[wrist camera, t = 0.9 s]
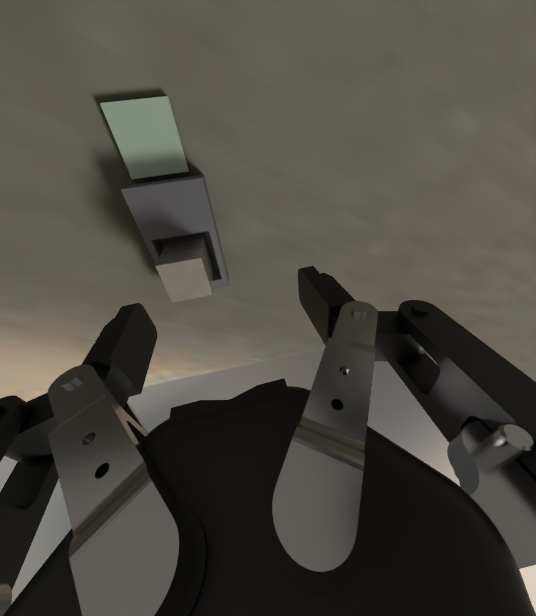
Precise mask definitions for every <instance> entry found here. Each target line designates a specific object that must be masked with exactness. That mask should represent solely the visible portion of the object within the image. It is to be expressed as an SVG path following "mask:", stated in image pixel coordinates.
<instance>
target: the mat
mask: <svg viewBox="0 0 536 616" xmlns="http://www.w3.org/2000/svg"><path fill="white" fill-rule="evenodd" d="M100 105H101V107H102V110H103V112H104V115H105V117H106V119H107V122H108V124H109V126H110V129H111V131H112V133H113V136H114V138H115V141H116V143H117V145H118V148H119V150H120V152H121V155H122V157H123V160H124V162H125V164H126V167H127V169H128V171H129V174H130V176H131V178H132V179H138V178H145V177H152V176H159V175H166V174H174V173H181V172H188V171H189V170H188V166H187V162H186V159H185V155H184V151H183V148H182V144H181V141H180V137H179V133H178V130H177V126H176V122H175V119H174V115H173V112H172V108H171V104H170V101H169V97H168V96H163V97H154V98H144V99H134V100H125V101H115V102H105V103H100Z"/></svg>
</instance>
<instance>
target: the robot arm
mask: <svg viewBox="0 0 536 616" xmlns="http://www.w3.org/2000/svg"><path fill="white" fill-rule="evenodd" d="M298 286H299V298H300V302H301V304H302V306H303V308H304V310H305V311H306V313H307V315H308V316H309V318H310V320H311V322H312V323H313V325H314V327H315V328H316V330H317V332H318V333H319V335H320V337H321V339H322V340H323V342H324V344H325V345H326V347H325V350H324V353H323V356H322V359H321V362H320V365H319V368H318V371H317V374H316V377H315V380H314V383H313V386H312V389H311V391H310V390H307V389H304V388H300V387H287V385H286V382H285V379H280V380H276V381H272V382H268V383H265V384H261V385H257V386H255V387H253V388H252V389H250V390H248V391H246V392H244V393H242V394H240V395H238V396H236V397H234V398H233V399H230V400H200V401H196V402H192V403H188V404H185V405H181V406H177V407H173V408H171V412H170V419H168V420H166V421H165V422H163V423H162V424H160V425H158V426H157V427H156V428H155V429H153V430H152V431H151V432H150V433H149V432H148V431H147V430H146V428H145V427H144V425H143V424H142V422H141V421H140V419H139V418H138V416H137V415H136V413H135V412H134V410H133V409H132V407H131V406H130V405H129V404H128V403H127V401H128V397H130V396H134V395H137V394H141V392H142V388H143V385H144V381H145V378H146V374H147V371H148V367H149V364H150V361H151V357H152V354H153V350H154V347H155V343H156V340H157V331H156V328H155V325H154V324H153V322H152V320H151V319H150V317H149V315H148V314H147V312H146V310H145V309H144V307H143V306H142V304H140V303H136V304H131V305H127V306H122V307H121V308H120V310H119V312H118V314H117V315H116V317H115V318H114V319H112V320H111V321H110V322H109V323H108V324H107V325H106V326H105V327H104V328H103V330H102V332H101V333H100V336H99V337H98V338H97V340H96V343H94V345H93V346H92V348H91V350H90V351H89V353H88V355H87V356H86V358H85V360H84V361H83V363H82V365H80V366H77V367H74V368H72V369H70V370H68V371H66V372H65V373H63V374H62V375H61V376H59V377H58V378H57V379H56V380H55V381H54V382H53V383H52V384H51V386H50V387H49V390H48V393H46V394H44V395H41V396H39V397H37V398H35V399H32V400H30V401H28V402H25V401H24V400H22V399H21V398H19V397H17V396H7V397H4V398H1V399H0V461H1V460H2V458H3V457H4V455H5V456H7V457H9V458H11V459H14V460H16V461H18V462H17V464H16V466H15V467H14V469H13V471H12V473H11V475H10V476H9V478H8V480H7V482H6V483H5V485H4V487H3V488H2V490H1V492H0V616H536V613H535V611H534V609H533V606H532V604H531V601H530V599H529V596H528V593H527V590H526V587H525V584H524V582H523V579H522V576H521V574H520V571H519V569H520V568H524V567H528V566H532V565H535V564H536V382H535V381H533V380H532V379H531V378H529V377H528V376H527V375H526V374H524V373H523V372H522V371H520V370H519V369H518V368H516V367H515V366H514V365H512V364H511V363H510V362H508V361H507V360H506V359H504V358H503V357H502V356H501V355H499V354H498V353H497V352H495V351H494V350H493V349H491V348H490V347H489V346H487V345H486V344H485V343H483V342H482V341H481V340H479V339H478V338H477V337H476V336H474V335H473V334H472V333H470V332H469V331H468V330H466V329H465V328H464V327H462V326H461V325H460V324H458V323H457V322H456V321H454V320H453V319H452V318H450V317H449V316H448V315H447V314H445V313H444V312H443V311H441V310H440V309H439V308H437V307H436V306H434V305H432V304H430V303H428V302H424V301H419V300H409V301H405V302H403V303H401V304H400V306H399V309H398V311H377V309H376V308H375V307H374V306H372V305H371V304H369V303H366V302H361V301H355V300H354V299H353V297H352V296H351V295H350V294H349V293H348V292H347V291H346V290H345V289H344V288H343V287H342V286H341V285H340V284H339V283H338V282H337V281H336V280H335V279H334V278H333V277H332V276H330V275H328V274H326V273H321V274H320V273H319V272H318V271H317V270H316V269H315V267H314V266H310V267H305V268H300V269H299V270H298ZM425 352H427V353H428V354H429V355H430V356H431V357H432V358H433V359H434V360H435V361H436V363H437V364H438V366H439V367H438V366H437V365H436V364H435V363H434V362H433V361H432V359H431V358H430V357H429V356H428V355H427V354H426V353H425ZM374 361H388V362H389V363H390V365H391V366H392V367H393V369H394V370H395V371H396V373H397V374H398V375H399V377H400V378H401V379H402V381H403V382H404V383H405V385H406V386H407V387H408V389H409V390H410V391H411V393H412V394H413V395H414V396H415V398H416V399H417V401H418V402H419V403H420V405H421V406H422V407H423V409H424V410H425V411H426V413H427V414H428V415H429V416H430V418H431V419H432V421H433V422H434V423H435V425H436V426H437V427H438V429H439V430H440V431H441V433H442V434H443V435H444V437H445V438H446V439H447V441H448V442H449V445H448V449H447V453H448V458H449V461H450V464H451V465H452V467H453V469H454V472H455V475H456V476H457V478H458V479H459V482H460V486H458V485H457V484H456V483H454V482H453V481H452V480H450V479H449V478H447V477H446V476H444V475H443V474H441V473H440V472H438V471H437V470H435V469H433V468H432V467H430V466H429V465H427V464H426V463H424V462H423V461H421V460H420V459H418V458H417V457H415V456H413V455H412V454H410V453H409V452H407V451H406V450H404V449H403V448H401V447H400V446H398V445H396V444H395V443H393V442H392V441H390V440H389V439H387V438H386V437H384V436H383V435H381V434H379V433H378V432H376V431H375V430H373V429H372V428H370V427H369V426H367V421H368V413H369V412H368V411H369V404H370V395H371V386H372V377H373V368H374ZM58 479H59V480H60V484H61V488H62V491H63V495H64V499H65V503H66V507H67V511H68V514H69V518H70V522H71V526H72V529H71V530H70V531H69V533H68V534H67V535H66V536H65V538H64V539H63V540H62V541H61V543H60V544H59V545H58V546H57V548H56V549H55V550H54V551H53V553H52V554H51V555H50V556H49V558H48V559H47V560H46V562H45V563H44V564H43V565H42V567H41V568H40V569H39V570H38V572H37V573H36V574H35V575H34V577H33V578H32V579H31V581H30V582H29V583H28V584H27V586H26V587H25V588H24V589H23V591H22V592H21V593H20V594H19V596H18V597H17V598H16V600H15V601H14V602H13V603H12V604H11V602H12V589H13V586H14V584H15V582H16V579H17V577H18V574H19V572H20V570H21V567H22V565H23V563H24V560H25V557H26V555H27V553H28V550H29V548H30V546H31V543H32V541H33V539H34V536H35V534H36V531H37V529H38V527H39V524H40V522H41V519H42V517H43V515H44V512H45V510H46V507H47V505H48V503H49V500H50V497H51V495H52V493H53V491H54V488H55V486H56V483H57V481H58Z"/></svg>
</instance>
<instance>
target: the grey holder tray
mask: <svg viewBox="0 0 536 616" xmlns="http://www.w3.org/2000/svg"><path fill="white" fill-rule="evenodd" d="M121 192H122V194H123V196H124V198H125V200H126V202H127V205H128V207H129V209H130V211H131V213H132V215H133V218H134V220H135V222H136V224H137V226H138V228H139V231H140V233H141V235H142V237H143V239H144V241H145V244H146V246H147V248H148V250H149V252H150V254H151V257H152V259H153V261H154V263H155V265H156V263H157V261H158V259H159V257H160V255H161V253H162V250H163V248H164V246H165V244H166V242H167V240H168V239H169V238H175V237H181V236H187V235H193V234H199V233H204V236H205V240H206V243H207V247H208V250H209V254H210V257H211V261H212V272H213V289H217V288H222V287H227V286H229V279H228V273H227V269H226V265H225V260H224V256H223V252H222V248H221V244H220V240H219V236H218V232H217V227H216V223H215V219H214V215H213V211H212V207H211V203H210V199H209V194H208V190H207V186H206V182H205V178H204V174H202V175H194V176H187V177H180V178H173V179H166V180H159V181H152V182H145V183H138V184H131V185H129V186H127V187H125V188H123V189H121Z"/></svg>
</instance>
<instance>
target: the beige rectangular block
mask: <svg viewBox="0 0 536 616" xmlns="http://www.w3.org/2000/svg"><path fill="white" fill-rule="evenodd" d="M155 267H156V269H157V271H158V273H159V275H160V278H161V280H162V282H163V284H164V286H165V288H166V290H167V293H168V295H169V297H170V299H171V301H172V303H173V302H178V301H183V300H188V299H193V298H198V297H203V296H209V295H213V272H212V261H211V257H210V254H209V250H208V247H207V243H206V240H205V236H204V233H199V234H193V235H187V236H181V237H175V238H169V239H168V240H167V242H166V244H165V246H164V248H163V250H162V253H161V255H160V257H159V259H158V261H157V263H156V266H155Z"/></svg>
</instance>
